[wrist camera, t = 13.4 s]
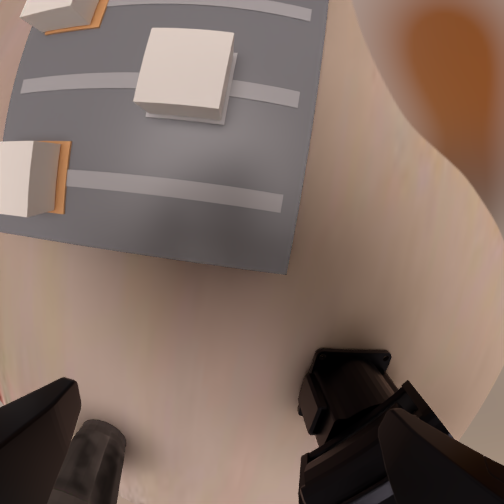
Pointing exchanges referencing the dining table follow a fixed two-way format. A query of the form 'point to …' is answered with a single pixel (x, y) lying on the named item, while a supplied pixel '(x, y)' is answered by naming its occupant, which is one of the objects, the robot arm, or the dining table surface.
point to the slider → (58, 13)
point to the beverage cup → (91, 466)
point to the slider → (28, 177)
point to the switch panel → (173, 134)
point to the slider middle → (185, 72)
